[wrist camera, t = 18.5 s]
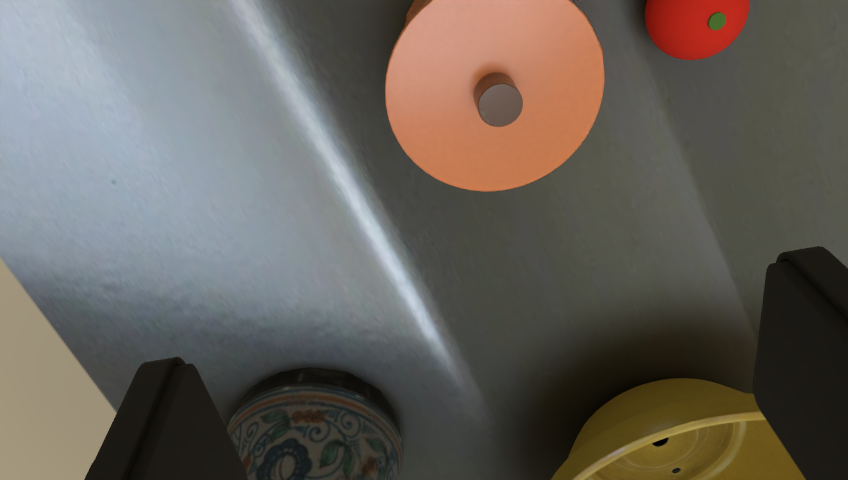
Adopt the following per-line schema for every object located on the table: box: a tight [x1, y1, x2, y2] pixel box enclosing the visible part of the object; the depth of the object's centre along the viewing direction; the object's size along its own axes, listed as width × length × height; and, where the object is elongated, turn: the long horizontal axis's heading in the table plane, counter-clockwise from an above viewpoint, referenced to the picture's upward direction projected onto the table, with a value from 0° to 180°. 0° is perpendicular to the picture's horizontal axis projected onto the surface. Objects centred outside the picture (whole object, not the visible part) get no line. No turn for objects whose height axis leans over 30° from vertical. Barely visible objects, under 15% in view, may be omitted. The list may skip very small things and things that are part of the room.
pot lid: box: [385, 0, 604, 191], centre depth 36 cm, size 12×12×3 cm
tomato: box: [645, 0, 749, 60], centre depth 40 cm, size 6×6×6 cm
